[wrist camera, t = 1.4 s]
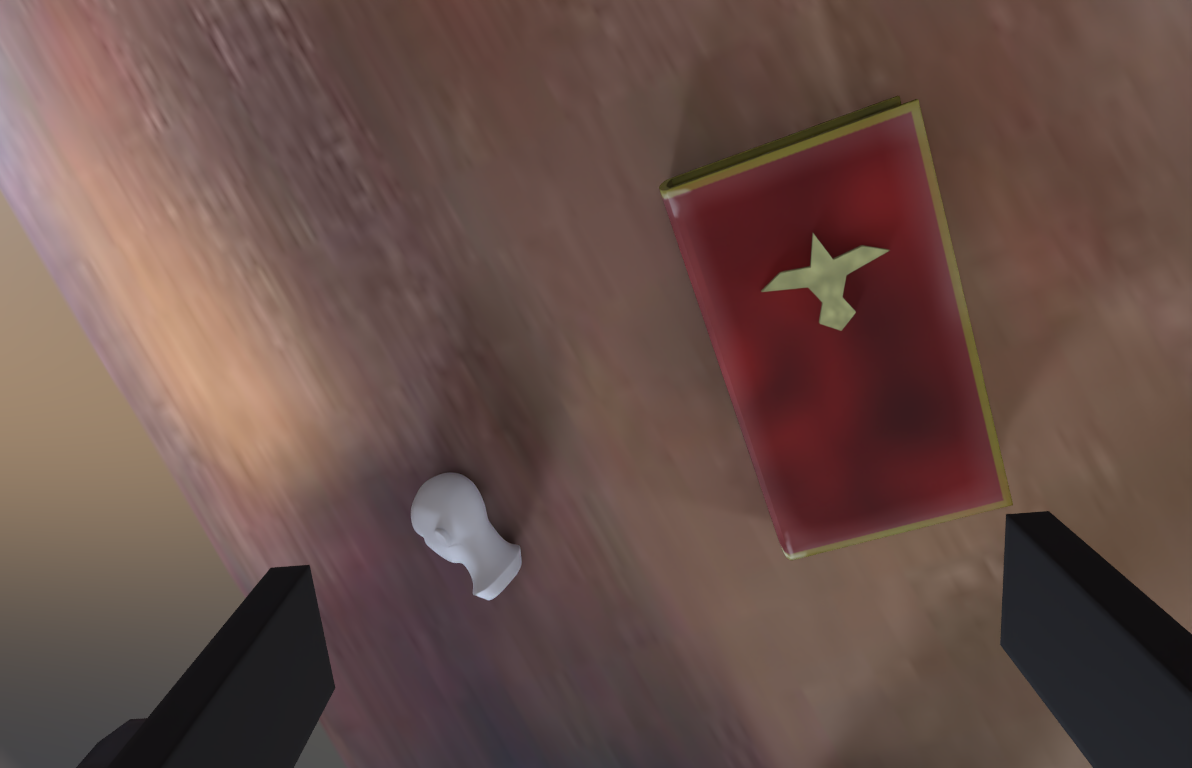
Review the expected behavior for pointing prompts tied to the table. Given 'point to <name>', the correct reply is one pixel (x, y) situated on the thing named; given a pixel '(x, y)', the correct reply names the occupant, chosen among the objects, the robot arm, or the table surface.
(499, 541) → the white bust figurine
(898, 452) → the hardcover book
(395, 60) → the table surface
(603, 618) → the table surface
